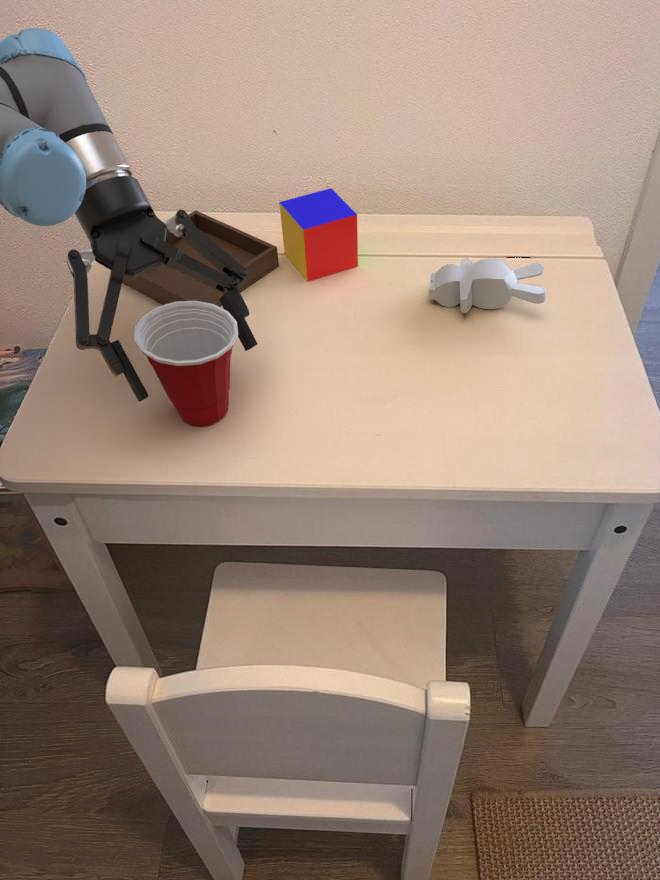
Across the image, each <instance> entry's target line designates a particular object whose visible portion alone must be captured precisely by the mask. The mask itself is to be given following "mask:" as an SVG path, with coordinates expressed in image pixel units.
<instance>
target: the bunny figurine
mask: <svg viewBox="0 0 660 880" xmlns="http://www.w3.org/2000/svg"><path fill="white" fill-rule="evenodd" d="M544 269H545V266H543V264H542V263H539V262H535V263H531V264H528V265H525V266H522V267H519V268H517V269H515V270H512V269H511V268H510V266H509V265H508V264H507V262H506V260H505V259H504V258H497V257H490V258H489V257H488V258H484V259H483V258H482V259H479V260H477V261H475V262H472V261H471V260H470V258H469V257H465V258H462V259H461V261H460V264H459V265H458V264H455V263H447V264H445V265H443V266H441V267H440V268H439V269H438V270H436V272H430V278H429V279H430V283H429V300H433V301H436V302H437V303H438V304H439V305H441V306H442V307H446V308H454V307H456V306H457V305H459V307H460V308H459V309H460V313H465V314H468V312H469V311H470V310H471V309H472V307H473V306H475V307H477V308H479V309H485V310H495V309H496V310H497V309H501V308H504V307H505V306H506V304H507V303H508V302H509V301H510V300H511V299H512V298H516V299H520V300H523V301H525V302H528V303H531V304H536V305H540V304H543V303H545V301H546V299H547V297H546V296H547V290H546V288H545V287H543V286H539V285H532V284H526V283H520V281H521V280H526V279H530V278H535V277H540V276H541V275H543V274H544Z"/></svg>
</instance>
